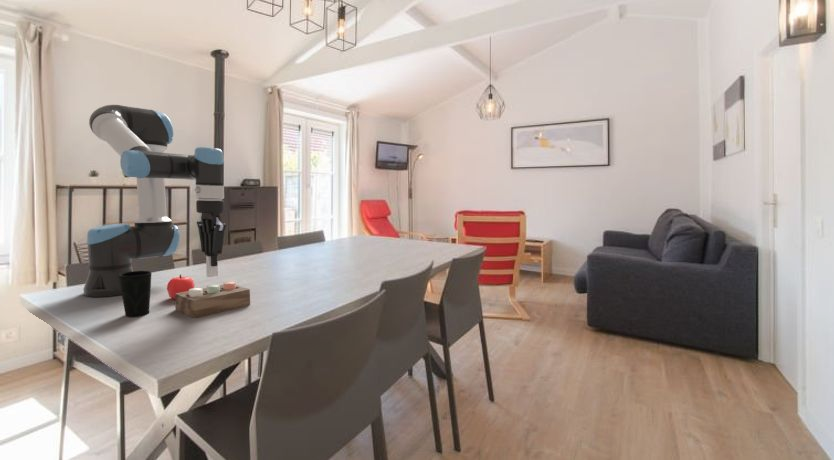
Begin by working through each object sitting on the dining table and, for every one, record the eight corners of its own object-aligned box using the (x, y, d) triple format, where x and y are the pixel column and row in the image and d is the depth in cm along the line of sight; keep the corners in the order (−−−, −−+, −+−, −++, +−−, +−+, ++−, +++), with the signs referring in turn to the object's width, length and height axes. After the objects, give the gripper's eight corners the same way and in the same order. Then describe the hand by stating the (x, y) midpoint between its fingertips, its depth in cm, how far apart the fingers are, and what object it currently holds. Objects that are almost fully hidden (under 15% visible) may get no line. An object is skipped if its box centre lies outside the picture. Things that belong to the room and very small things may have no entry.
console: (175, 309, 117) (174, 293, 117) (230, 297, 131) (229, 283, 131) (194, 318, 110) (193, 300, 110) (250, 304, 124) (249, 289, 124)
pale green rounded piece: (204, 298, 120) (204, 286, 120) (216, 296, 123) (216, 284, 123) (210, 301, 118) (210, 288, 118) (222, 298, 121) (221, 286, 120)
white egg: (186, 302, 116) (186, 289, 115) (199, 300, 119) (198, 287, 118) (192, 305, 114) (192, 291, 113) (205, 302, 117) (204, 289, 116)
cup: (136, 319, 108) (134, 277, 107) (113, 317, 110) (111, 275, 109) (159, 311, 116) (158, 271, 115) (138, 309, 117) (136, 270, 116)
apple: (161, 300, 127) (160, 276, 126) (179, 294, 134) (178, 271, 134) (184, 301, 126) (183, 277, 125) (200, 295, 134) (199, 272, 133)
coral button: (221, 295, 124) (221, 283, 124) (232, 293, 127) (231, 281, 127) (227, 297, 122) (227, 285, 122) (238, 295, 125) (238, 282, 125)
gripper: (187, 198, 118) (189, 274, 121) (208, 200, 111) (210, 281, 113) (211, 198, 124) (213, 271, 127) (233, 200, 117) (235, 277, 119)
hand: (212, 276), depth 120 cm, fingers closed
